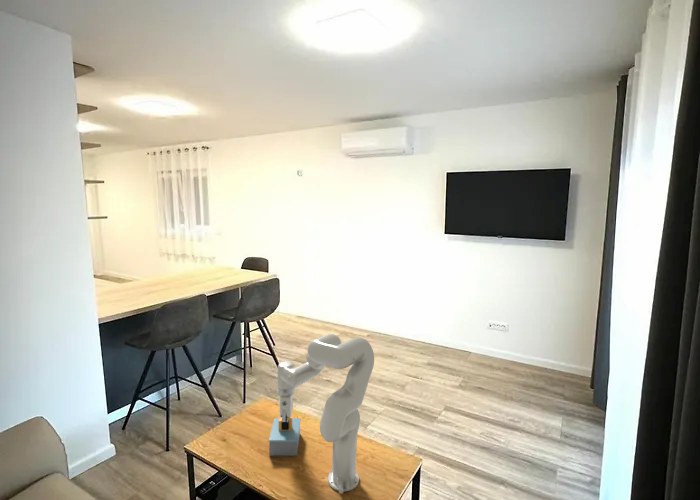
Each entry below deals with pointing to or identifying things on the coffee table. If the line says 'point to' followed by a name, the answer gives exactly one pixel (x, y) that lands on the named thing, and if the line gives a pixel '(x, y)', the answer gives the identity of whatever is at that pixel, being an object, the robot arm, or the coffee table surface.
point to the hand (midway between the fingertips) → (285, 427)
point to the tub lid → (285, 431)
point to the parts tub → (284, 448)
